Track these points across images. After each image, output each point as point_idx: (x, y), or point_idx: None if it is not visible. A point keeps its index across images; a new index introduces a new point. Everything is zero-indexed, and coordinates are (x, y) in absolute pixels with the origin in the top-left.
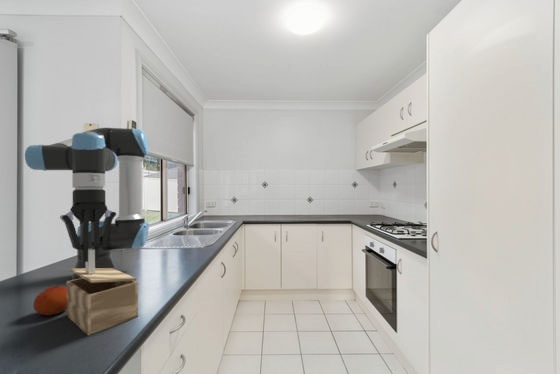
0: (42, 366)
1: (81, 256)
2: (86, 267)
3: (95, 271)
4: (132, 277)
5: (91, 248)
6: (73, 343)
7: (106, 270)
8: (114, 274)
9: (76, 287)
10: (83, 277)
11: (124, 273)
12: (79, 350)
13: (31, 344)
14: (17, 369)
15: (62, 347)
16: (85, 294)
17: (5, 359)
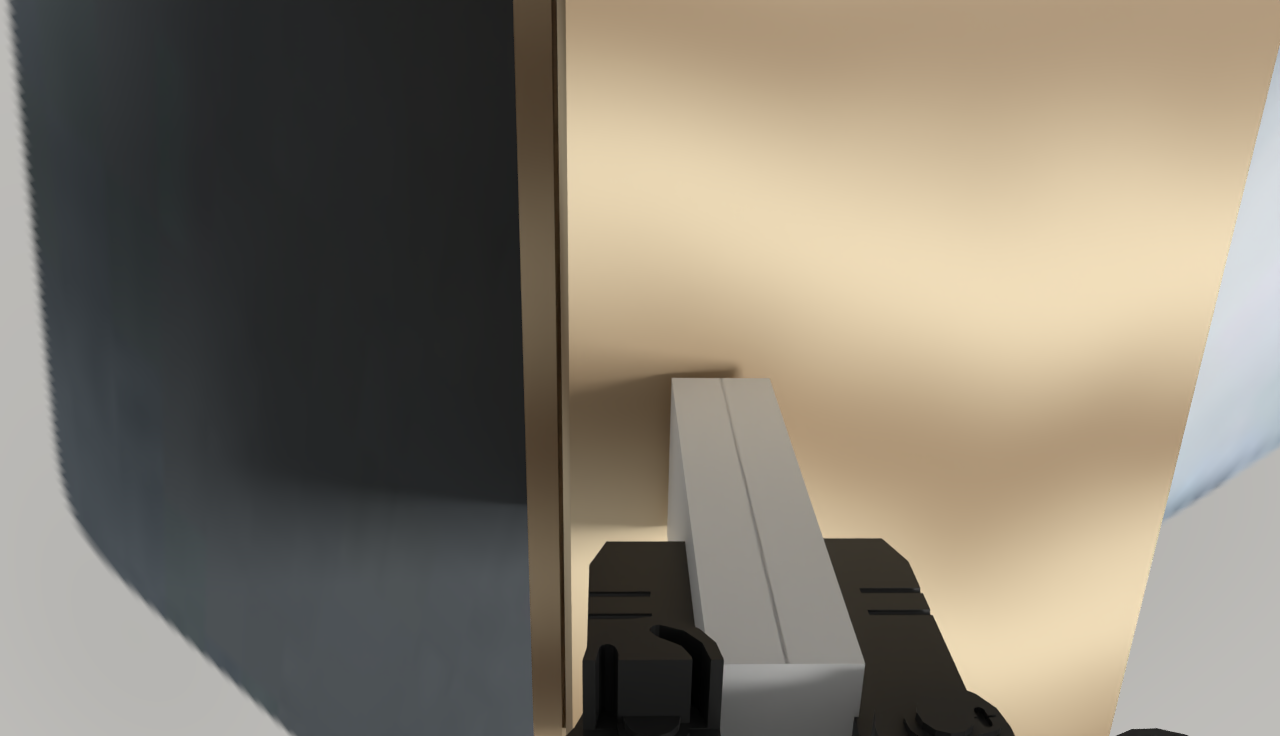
0: (252, 667)
1: (588, 629)
2: (675, 476)
3: (874, 231)
4: (1094, 716)
5: (851, 698)
6: (447, 535)
7: (1087, 137)
8: (1007, 514)
9: (529, 342)
10: (566, 591)
11: (1177, 437)
12: (454, 657)
13: (205, 292)
14: (131, 589)
15: (379, 532)
16: (532, 682)
17: (54, 392)
